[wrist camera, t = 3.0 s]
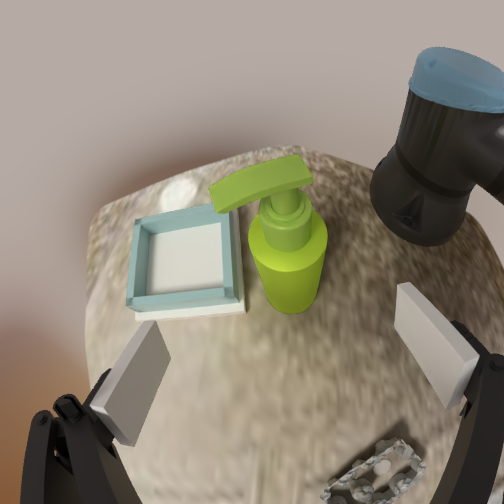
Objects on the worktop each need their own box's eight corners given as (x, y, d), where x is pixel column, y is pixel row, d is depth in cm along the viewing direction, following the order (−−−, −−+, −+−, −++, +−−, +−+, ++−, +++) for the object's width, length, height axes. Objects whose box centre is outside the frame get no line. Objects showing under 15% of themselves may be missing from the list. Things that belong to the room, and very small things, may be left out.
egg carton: (391, 427, 23) (403, 433, 19) (421, 463, 20) (435, 471, 16) (314, 484, 21) (316, 498, 18) (348, 518, 18) (354, 533, 14)
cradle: (238, 212, 38) (231, 193, 34) (246, 313, 31) (239, 303, 28) (146, 229, 39) (133, 214, 35) (139, 322, 33) (122, 314, 29)
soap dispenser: (251, 278, 33) (199, 158, 15) (305, 259, 33) (308, 124, 15) (267, 324, 30) (222, 240, 13) (324, 303, 30) (358, 194, 13)
